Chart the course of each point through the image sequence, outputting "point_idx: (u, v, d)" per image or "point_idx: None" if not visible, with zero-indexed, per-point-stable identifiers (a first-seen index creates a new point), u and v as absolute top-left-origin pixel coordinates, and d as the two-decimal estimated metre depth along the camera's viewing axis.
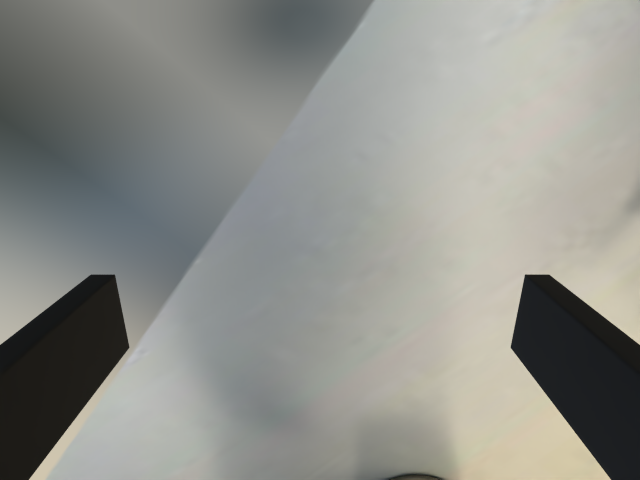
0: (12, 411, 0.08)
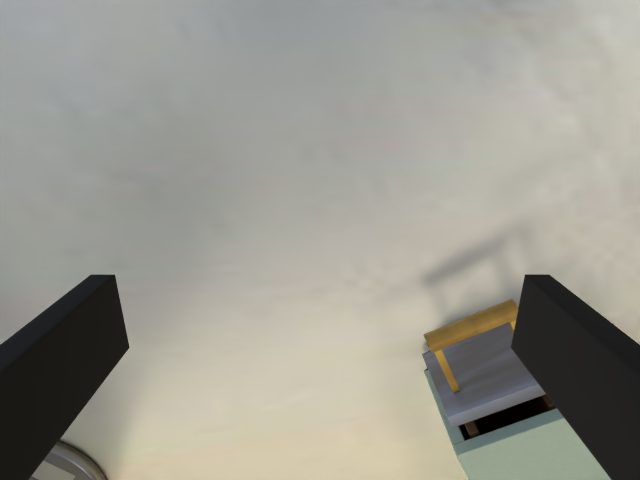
0: (12, 411, 0.08)
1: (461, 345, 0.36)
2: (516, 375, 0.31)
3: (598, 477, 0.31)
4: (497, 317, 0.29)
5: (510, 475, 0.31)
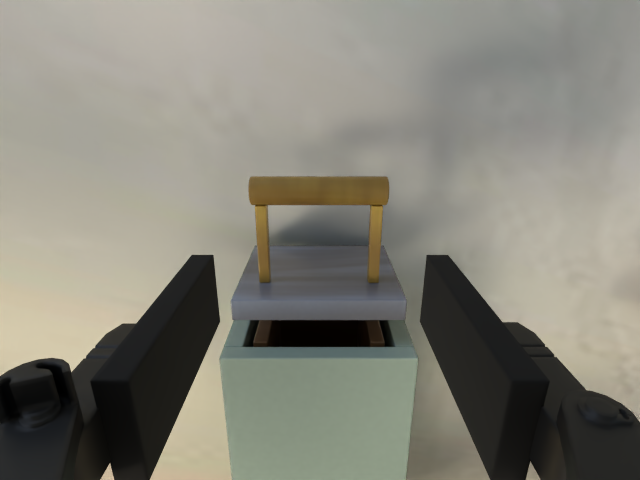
0: (167, 362, 0.10)
1: (306, 250, 0.27)
2: (348, 287, 0.21)
3: (391, 461, 0.22)
4: (357, 187, 0.20)
5: (281, 416, 0.21)
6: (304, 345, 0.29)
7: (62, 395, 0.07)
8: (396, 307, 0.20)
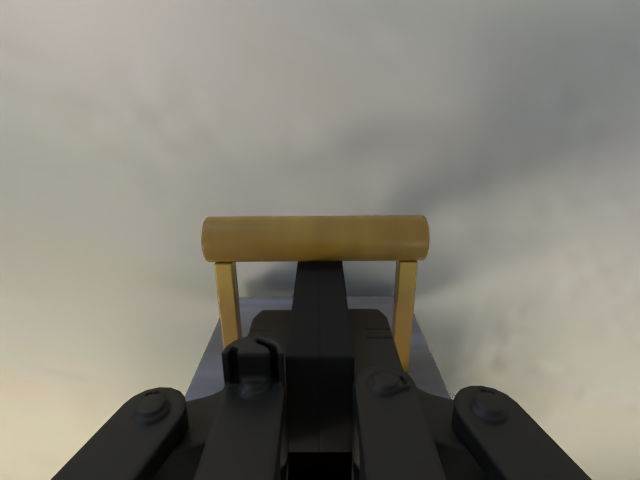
0: None
1: None
2: None
3: None
4: (377, 234, 0.12)
5: None
6: None
7: (271, 373, 0.08)
8: None
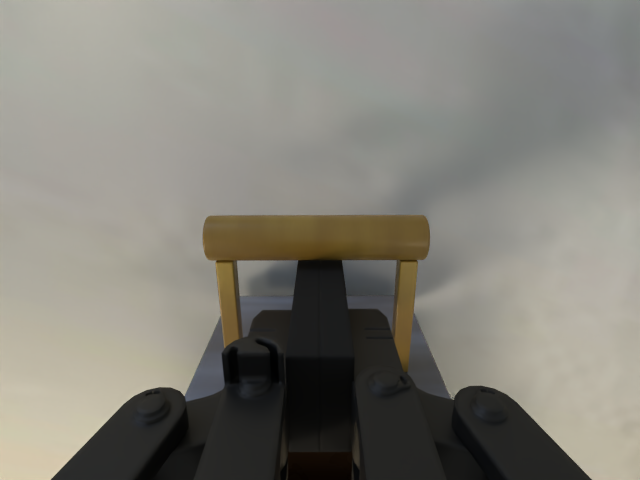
0: None
1: None
2: None
3: None
4: (378, 234, 0.12)
5: None
6: None
7: (271, 372, 0.08)
8: None
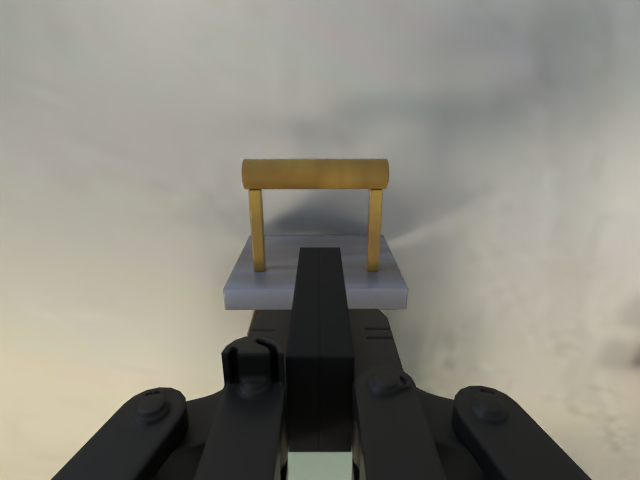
0: None
1: (303, 239, 0.26)
2: (347, 275, 0.21)
3: None
4: (355, 169, 0.19)
5: None
6: None
7: (271, 372, 0.08)
8: (396, 296, 0.19)
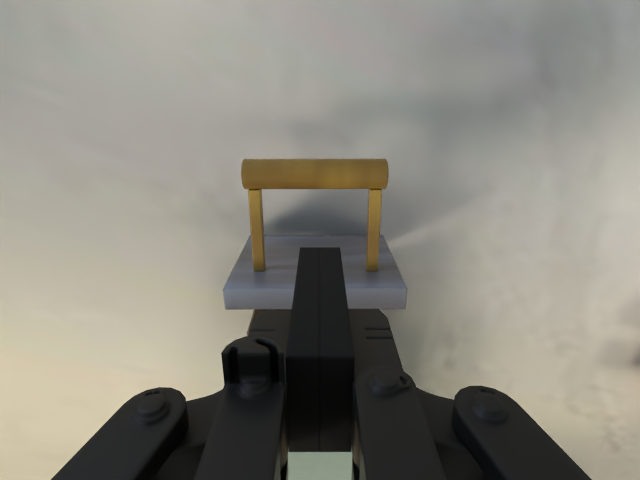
0: None
1: (303, 239, 0.26)
2: (346, 275, 0.21)
3: None
4: (354, 169, 0.19)
5: None
6: None
7: (271, 373, 0.08)
8: (395, 296, 0.19)
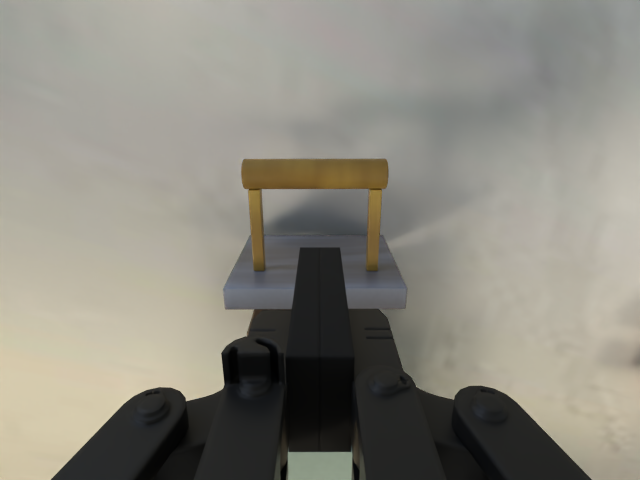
0: None
1: (303, 239, 0.26)
2: (346, 275, 0.21)
3: None
4: (354, 169, 0.19)
5: None
6: None
7: (271, 373, 0.08)
8: (395, 296, 0.19)
